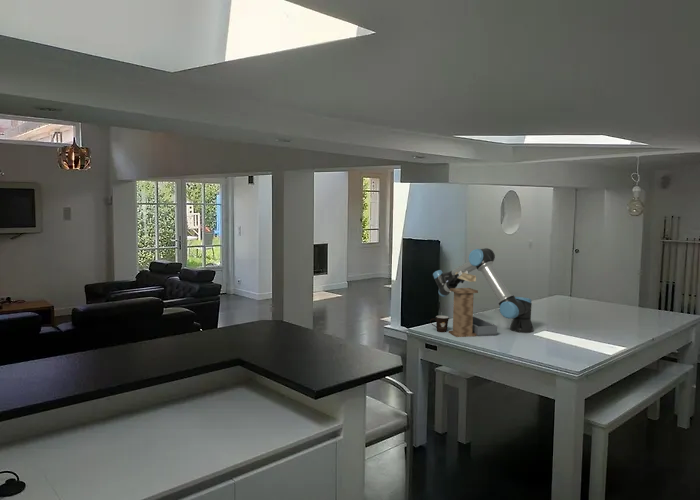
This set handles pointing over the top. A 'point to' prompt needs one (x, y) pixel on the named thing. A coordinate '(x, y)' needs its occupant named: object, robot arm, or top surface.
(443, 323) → the coffee mug
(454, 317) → the stand
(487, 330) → the tray
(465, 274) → the batten
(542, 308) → the top surface
